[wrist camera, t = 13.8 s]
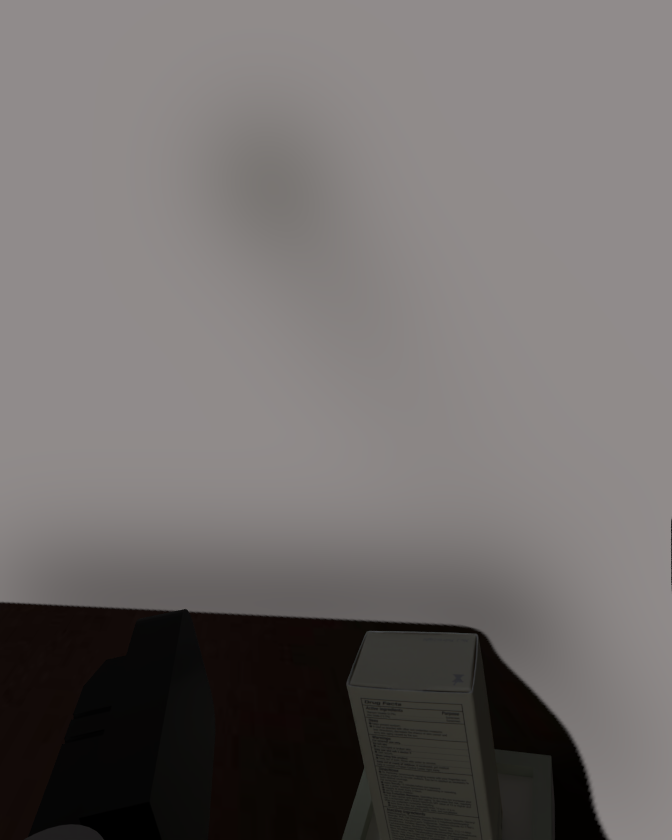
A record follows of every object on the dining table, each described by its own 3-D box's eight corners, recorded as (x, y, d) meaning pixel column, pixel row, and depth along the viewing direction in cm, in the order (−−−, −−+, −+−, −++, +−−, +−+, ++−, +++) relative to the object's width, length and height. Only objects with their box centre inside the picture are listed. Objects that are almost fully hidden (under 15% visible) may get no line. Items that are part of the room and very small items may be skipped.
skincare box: (503, 812, 36) (484, 631, 33) (500, 890, 32) (478, 693, 29) (395, 798, 38) (366, 626, 35) (379, 870, 34) (344, 683, 31)
